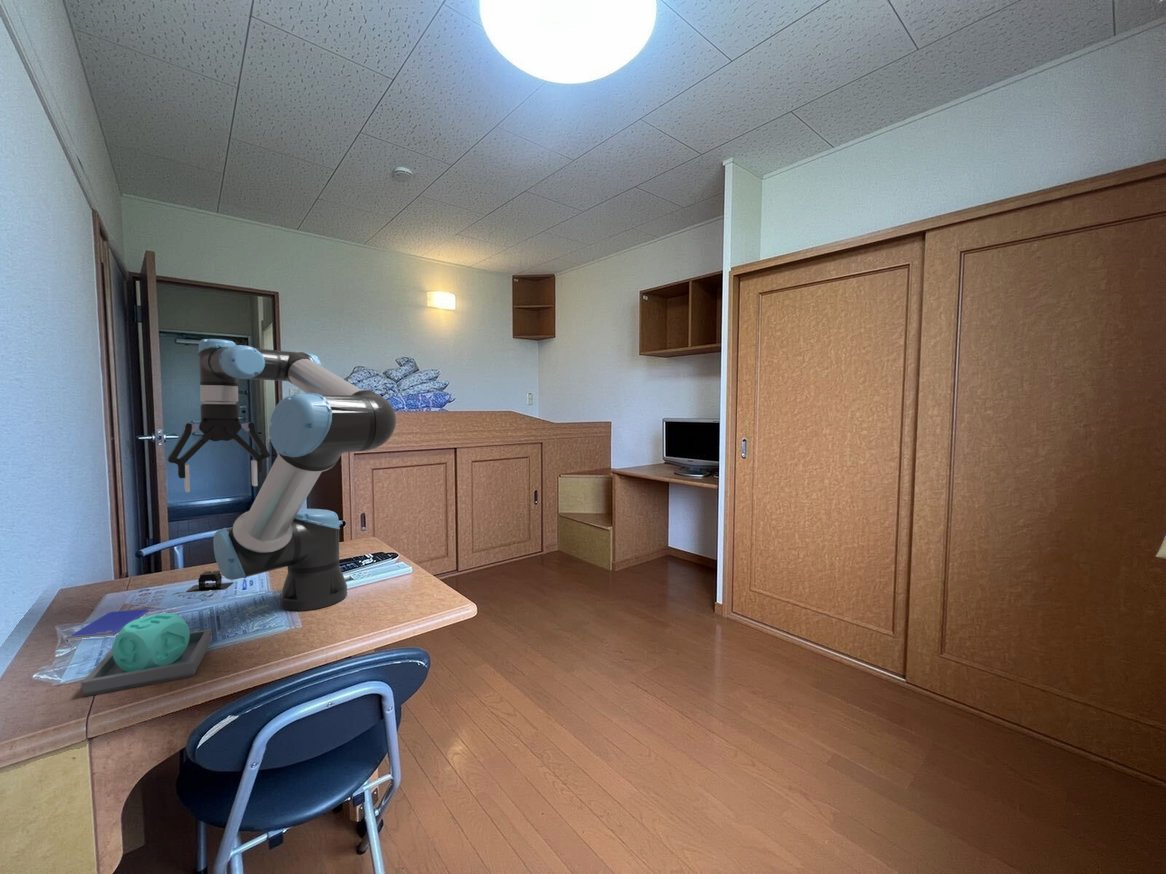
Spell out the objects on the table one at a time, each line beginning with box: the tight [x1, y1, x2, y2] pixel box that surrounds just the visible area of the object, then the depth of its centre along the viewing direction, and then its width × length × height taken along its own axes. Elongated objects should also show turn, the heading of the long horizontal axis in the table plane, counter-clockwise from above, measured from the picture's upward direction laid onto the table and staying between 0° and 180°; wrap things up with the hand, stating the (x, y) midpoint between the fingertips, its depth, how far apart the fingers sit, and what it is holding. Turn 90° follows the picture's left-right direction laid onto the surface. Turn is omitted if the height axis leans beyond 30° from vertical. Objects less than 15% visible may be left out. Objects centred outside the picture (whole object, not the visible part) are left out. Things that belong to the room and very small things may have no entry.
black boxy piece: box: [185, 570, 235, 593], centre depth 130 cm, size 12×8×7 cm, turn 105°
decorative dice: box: [111, 612, 191, 672], centre depth 91 cm, size 8×8×8 cm
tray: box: [81, 628, 213, 698], centre depth 92 cm, size 15×15×2 cm
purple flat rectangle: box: [66, 608, 151, 641], centre depth 107 cm, size 2×8×12 cm
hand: (222, 488), depth 120 cm, fingers open, 13 cm apart
